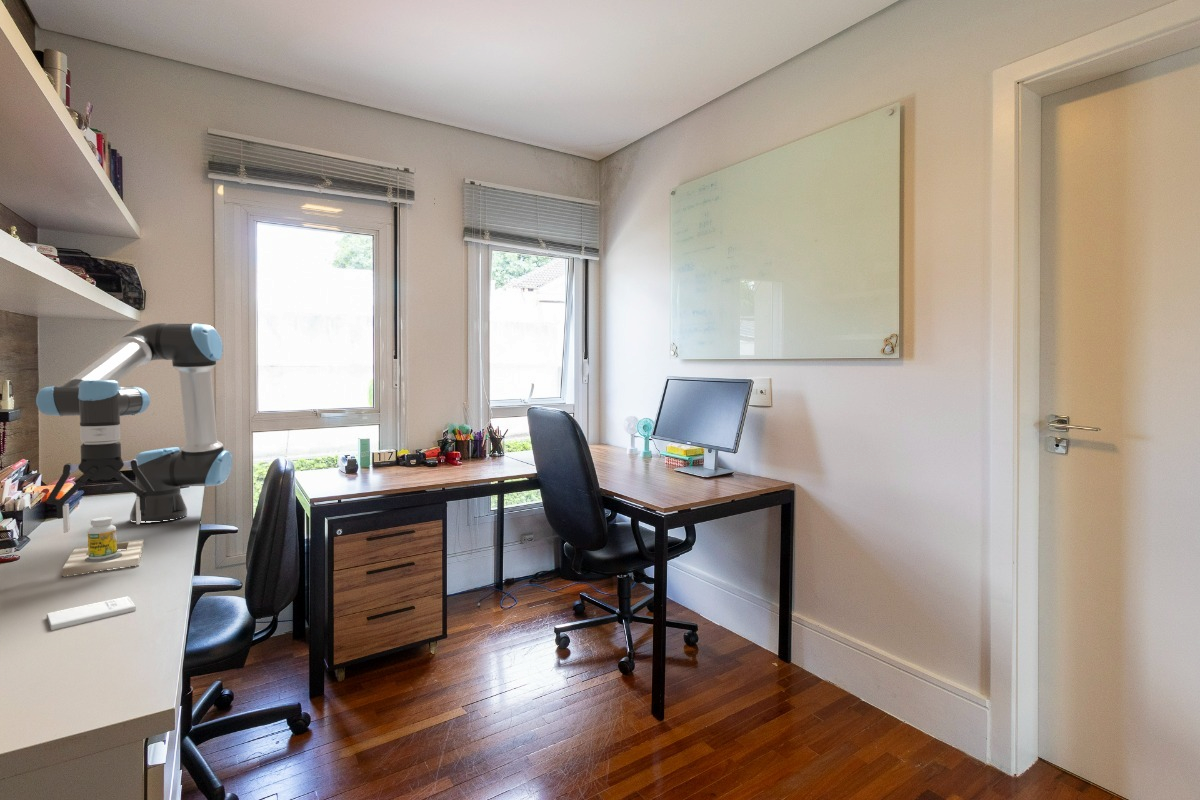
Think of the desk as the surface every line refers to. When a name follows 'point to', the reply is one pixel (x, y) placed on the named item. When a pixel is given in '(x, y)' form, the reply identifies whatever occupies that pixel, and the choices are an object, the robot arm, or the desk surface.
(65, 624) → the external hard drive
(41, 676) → the desk surface
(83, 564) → the puzzle board
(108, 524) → the supplement bottle
